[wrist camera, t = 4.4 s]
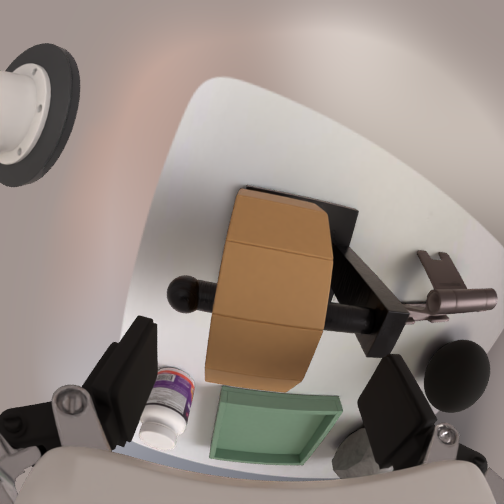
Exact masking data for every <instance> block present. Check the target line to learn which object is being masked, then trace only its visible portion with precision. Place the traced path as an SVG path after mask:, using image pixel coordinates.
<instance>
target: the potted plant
mask: <svg viewBox="0 0 504 504" xmlns="http://www.w3.org/2000/svg"><path fill="white" fill-rule="evenodd" d="M332 465H333V470H334V472H335V473H336V474H337V475H338V476H339V477H340V479H347V478H356V477H363V476H370V475H376V474H382V473H387V472H392V471H393V466H391V467H390V468H385V469H380V468H379V465H378V464H377V463H376V462H375V459H374V456H373V453H372V449H371V446H370V443H369V439H368V436H367V433H366V430H365V428H361V429H359V430H358V431H356V432H354V433H353V434H351V435H349V436H348V437H347V439H346V440H345V441H344V442H343V443H342V444H341V445H340V446H339V448H338V450H337V452H336V454H335V456H334V458H333V459H332Z"/></svg>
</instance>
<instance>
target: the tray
mask: <svg viewBox="0 0 504 504" xmlns="http://www.w3.org/2000/svg"><path fill="white" fill-rule="evenodd" d="M342 412H343V409H342V405H341V402H340V398H339V396H313V395H296V394H283V393H273V392H263V391H255V390H247V389H240V388H234V387H227V386H222V389H221V394H220V400H219V405H218V410H217V415H216V421H215V426H214V431H213V436H212V442H211V448H210V455H209V458H210V459H217V460H224V461H232V462H241V463H252V464H266V465H304V463H305V462H306V461H307V460H308V458H309V457H310V456H311V455H312V453H313V452H314V451H315V450H316V448H317V447H318V446H319V444H320V443H321V442H322V440H323V439H324V438H325V436H326V435H327V434H328V432H329V431H330V430H331V428H332V427H333V425H334V424H335V422H336V421H337V420H338V418H339V417H340V415H341V414H342Z"/></svg>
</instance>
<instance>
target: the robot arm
mask: <svg viewBox="0 0 504 504" xmlns="http://www.w3.org/2000/svg"><path fill="white" fill-rule="evenodd" d="M50 98H51V85H50V79H49V76H48V74H47V72H46V70H45V69H44V68H43V67H41V66H40V65H36V64H33V63H30V64H25V65H22V66H20V67H19V68H17V69H16V70H15V71H13V72H7V71H0V163H2V164H6V165H9V164H15V163H18V162H20V161H21V160H23V159H24V158H25V157H26V156H27V155H28V154H29V153H30V152H31V150H32V149H33V148H34V146H35V145H36V143H37V141H38V139H39V137H40V135H41V133H42V130H43V128H44V125H45V122H46V119H47V116H48V111H49V106H50ZM157 375H158V361H157V324H156V323H153V319H151V318H147V317H143V316H138V317H137V318H136V319H135V321H134V322H133V323H132V325H131V326H130V328H129V329H128V331H127V332H126V333H125V335H124V336H123V338H122V339H121V341H120V342H119V343H117V342H113V343H112V344H111V345H110V346H109V347H108V349H107V350H106V352H105V353H104V355H103V356H102V358H101V359H100V360H99V362H98V363H97V365H96V366H95V368H94V369H93V371H92V372H91V374H90V375H89V377H88V378H87V380H86V381H85V383H84V384H83V386H82V387H80V386H76V385H65V386H62V387H60V388H58V389H57V390H56V391H55V392H54V393H53V396H52V401H51V402H46V403H40V404H35V405H29V406H24V407H17V408H11V409H7V410H5V411H4V412H2V414H1V415H0V504H504V480H503V479H502V478H501V477H500V476H498V475H497V474H496V473H495V472H494V471H493V470H492V469H491V468H488V469H487V461H486V458H485V457H484V456H483V455H482V454H480V453H478V452H476V451H474V450H472V449H470V448H468V447H466V446H464V445H462V444H460V443H459V439H460V436H459V433H458V431H457V430H456V429H455V427H453V426H452V425H451V424H448V423H439V424H438V425H436V426H435V425H434V423H435V422H436V421H437V418H436V416H435V414H434V412H433V411H432V409H431V407H430V405H429V403H428V401H427V400H426V398H425V396H424V394H423V392H422V391H421V389H420V387H419V385H418V384H417V382H416V380H415V378H414V377H413V375H412V373H411V372H410V370H409V368H408V367H407V365H406V363H405V362H404V360H403V358H402V357H401V355H399V354H387V355H386V356H385V357H383V358H382V359H381V361H380V363H379V365H378V367H377V368H376V370H375V372H374V374H373V375H372V377H371V379H370V380H369V382H368V384H367V385H366V387H365V389H364V390H363V392H362V394H361V395H360V397H359V399H358V408H359V411H360V414H361V417H362V420H363V423H364V427H365V430H366V433H367V436H368V439H369V443H370V446H371V449H372V453H373V456H374V459H375V462H376V463H377V464H378V465H379V468H380V469H385V468H390V467H391V466H393V471H392V472H387V473H382V474H376V475H370V476H363V477H356V478H347V479H337V480H326V481H302V482H300V481H295V482H294V481H293V482H292V481H290V482H288V481H260V480H247V479H237V478H229V477H221V476H214V475H208V474H202V473H197V472H191V471H186V470H181V469H177V468H172V467H168V466H164V465H160V464H156V463H152V462H149V461H145V460H141V459H137V458H134V457H130V456H127V455H123V454H119V453H115V452H112V450H114V449H115V448H116V445H119V446H122V447H124V446H125V444H126V441H128V442H131V440H132V438H133V436H134V433H135V431H136V428H137V426H138V423H139V421H140V418H141V416H142V413H143V411H144V408H145V406H146V403H147V401H148V398H149V396H150V394H151V391H152V389H153V386H154V384H155V382H156V379H157ZM30 466H32V467H33V468H32V470H31V471H30V473H29V475H28V476H27V478H26V480H25V482H24V483H23V485H22V487H21V490H20V491H19V494H18V493H17V491H16V488H15V481H16V478H17V477H18V476H19V475H21V474H22V473H24V472H25V471H24V469H26V468H28V467H30Z"/></svg>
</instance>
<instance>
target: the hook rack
mask: <svg viewBox="0 0 504 504" xmlns="http://www.w3.org/2000/svg"><path fill="white" fill-rule="evenodd" d="M246 189H247V190H253V191H258V192H263V193H268V194H273V195H278V196H283V197H288V198H292V199H297V200H302V201H306V202H311V203H315V204H316V205H317V206H319V207H320V208H321V209H322V210H324V211H325V212H326V213H327V215H328V221H329V229H330V236H331V244H332V253H333V260H332V261H333V268H332V276H331V284H330V291H329V298H328V305H327V311H326V318H325V324H324V329H323V330H327V331H336V332H346V333H355V335H356V337H357V339H358V341H359V343H360V345H361V347H362V349H363V351H364V353H365V355H366V357H373V358H383V357H385V356H386V355H387V354H390V353H391V351H392V349H393V348H394V346H395V344H396V342H397V340H398V338H399V336H400V334H401V332H402V330H403V328H404V326H405V324H406V322H407V320H408V317H409V315H410V313H409V311H408V310H407V309H406V308H405V307H404V306H403V304H402V303H401V302H400V301H399V300H398V299H397V298H396V296H395V295H394V294H393V293H392V292H391V291H390V290H389V289H388V287H387V286H386V285H385V284H384V283H383V282H382V281H381V280H380V279H379V278H378V276H377V275H376V274H375V273H374V272H373V271H372V270H371V269H370V268H369V267H368V266H367V265H366V264H365V263H364V262H363V260H362V259H361V258H360V257H359V256H358V255H357V254H356V253H355V252H354V251H353V250H352V249H351V248H350V247H349V245H350V241H351V238H352V234H353V231H354V227H355V223H356V220H357V216H358V212H359V211H358V210H356V209H354V208H350V207H346V206H342V205H338V204H334V203H330V202H326V201H321V200H317V199H313V198H308V197H304V196H299V195H295V194H290V193H285V192H281V191H276V190H271V189H266V188H261V187H256V186H250V185H247V187H246ZM216 288H217V283H213V282H207V281H202V280H197V279H196V278H194V277H192V276H187V275H183V276H179V277H177V278H175V279H174V280H173V281H172V282H171V283H170V284H169V286H168V289H167V299H168V302H169V304H170V305H171V307H172V308H173V309H175V310H176V311H178V312H181V313H191V312H194V311H196V310H199V311H204V312H209V313H212V310H213V305H214V299H215V293H216ZM334 294H335V296H336V298H337V300H338V302H339V303H332V302H331V301H332V298H333V295H334Z"/></svg>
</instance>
